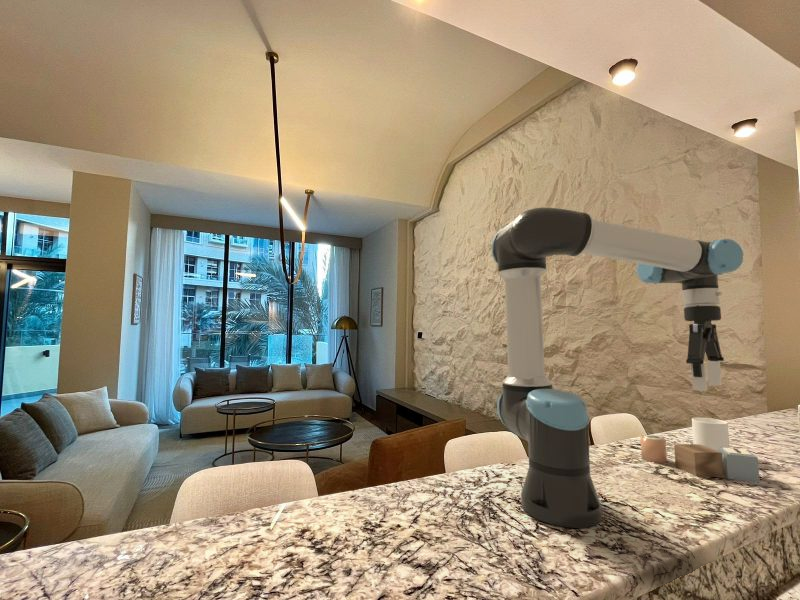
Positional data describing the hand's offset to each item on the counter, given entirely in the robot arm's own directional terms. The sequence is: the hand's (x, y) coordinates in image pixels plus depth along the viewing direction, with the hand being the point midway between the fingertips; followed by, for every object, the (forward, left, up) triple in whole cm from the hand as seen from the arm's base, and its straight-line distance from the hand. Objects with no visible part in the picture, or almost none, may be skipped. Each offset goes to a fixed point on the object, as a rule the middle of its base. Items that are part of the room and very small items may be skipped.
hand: (707, 388), depth 97 cm
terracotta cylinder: (-9, +11, -22) cm, 26 cm away
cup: (+11, +19, -22) cm, 31 cm away
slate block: (+6, +1, -22) cm, 23 cm away
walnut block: (-2, +3, -22) cm, 22 cm away
